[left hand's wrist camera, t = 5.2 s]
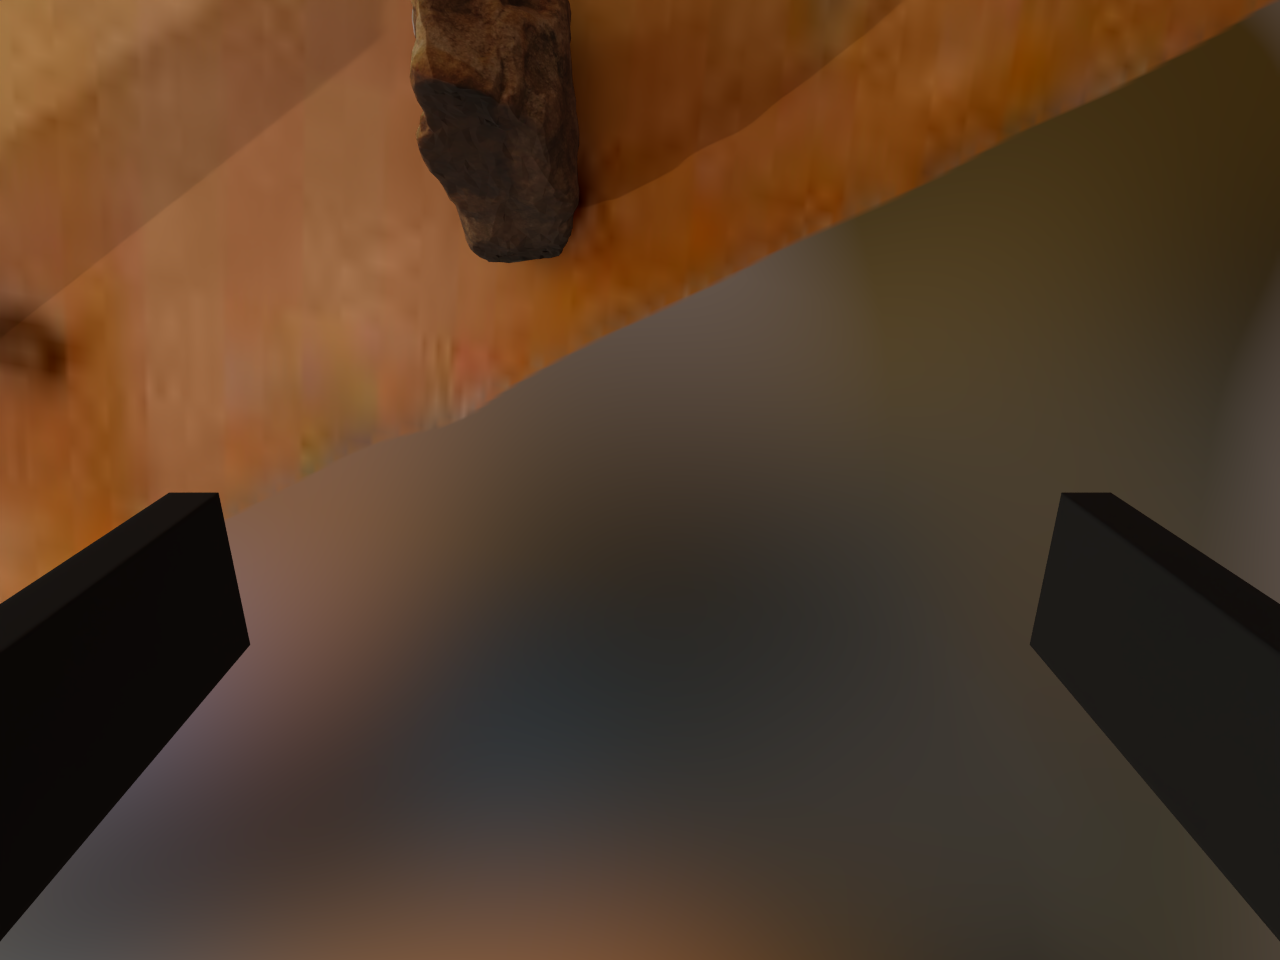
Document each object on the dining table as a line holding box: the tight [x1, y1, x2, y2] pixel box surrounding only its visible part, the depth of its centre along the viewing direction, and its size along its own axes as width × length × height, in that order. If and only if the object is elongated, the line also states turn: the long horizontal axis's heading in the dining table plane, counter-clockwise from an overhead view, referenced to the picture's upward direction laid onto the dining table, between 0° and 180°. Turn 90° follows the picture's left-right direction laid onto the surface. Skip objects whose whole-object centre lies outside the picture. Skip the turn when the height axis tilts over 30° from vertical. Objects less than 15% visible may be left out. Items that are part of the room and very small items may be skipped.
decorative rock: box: [410, 0, 579, 263], centre depth 31 cm, size 12×6×11 cm, turn 177°
